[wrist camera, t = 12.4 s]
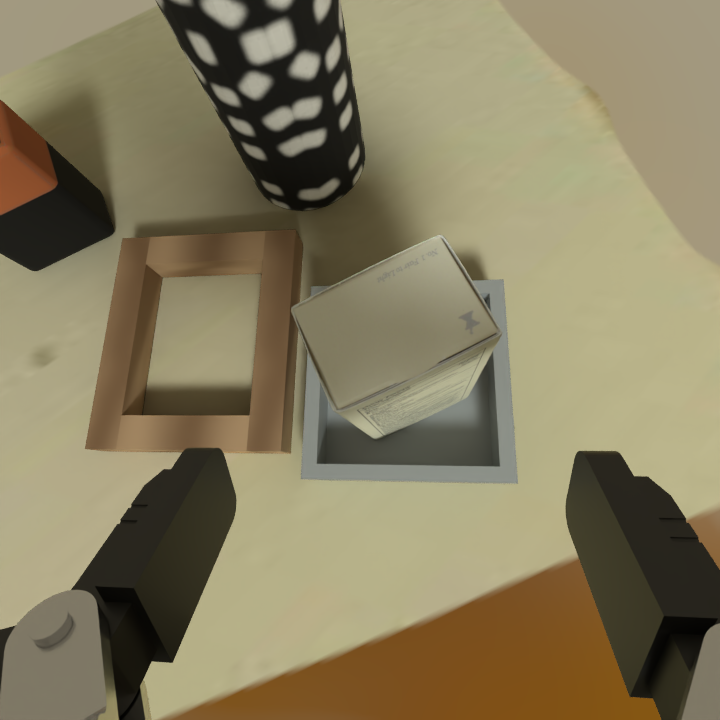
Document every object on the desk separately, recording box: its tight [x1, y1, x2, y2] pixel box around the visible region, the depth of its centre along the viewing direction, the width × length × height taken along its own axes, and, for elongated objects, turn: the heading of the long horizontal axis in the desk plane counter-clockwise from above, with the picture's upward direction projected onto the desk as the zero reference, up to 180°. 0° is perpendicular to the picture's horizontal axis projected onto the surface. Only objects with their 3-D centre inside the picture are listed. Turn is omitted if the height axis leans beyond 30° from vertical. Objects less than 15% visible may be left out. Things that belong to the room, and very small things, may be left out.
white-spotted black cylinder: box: [156, 0, 365, 211], centre depth 23 cm, size 8×8×20 cm
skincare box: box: [291, 235, 503, 440], centre depth 21 cm, size 6×4×12 cm
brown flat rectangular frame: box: [85, 229, 303, 454], centre depth 29 cm, size 12×14×2 cm
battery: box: [0, 100, 114, 271], centre depth 29 cm, size 4×7×10 cm, turn 116°
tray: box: [301, 279, 518, 484], centre depth 26 cm, size 11×11×3 cm
